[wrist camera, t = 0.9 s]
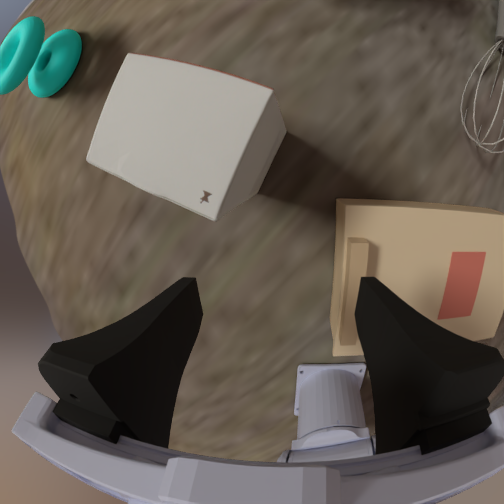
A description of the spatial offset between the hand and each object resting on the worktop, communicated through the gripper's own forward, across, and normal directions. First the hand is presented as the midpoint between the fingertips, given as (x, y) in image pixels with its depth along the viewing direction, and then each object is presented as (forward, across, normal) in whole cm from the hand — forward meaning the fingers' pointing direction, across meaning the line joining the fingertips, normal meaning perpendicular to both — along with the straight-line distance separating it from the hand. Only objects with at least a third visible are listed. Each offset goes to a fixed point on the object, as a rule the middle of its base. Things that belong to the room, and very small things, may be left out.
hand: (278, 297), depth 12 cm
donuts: (+18, +27, -21) cm, 39 cm away
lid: (+7, -14, +4) cm, 16 cm away
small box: (+15, +4, -6) cm, 16 cm away
